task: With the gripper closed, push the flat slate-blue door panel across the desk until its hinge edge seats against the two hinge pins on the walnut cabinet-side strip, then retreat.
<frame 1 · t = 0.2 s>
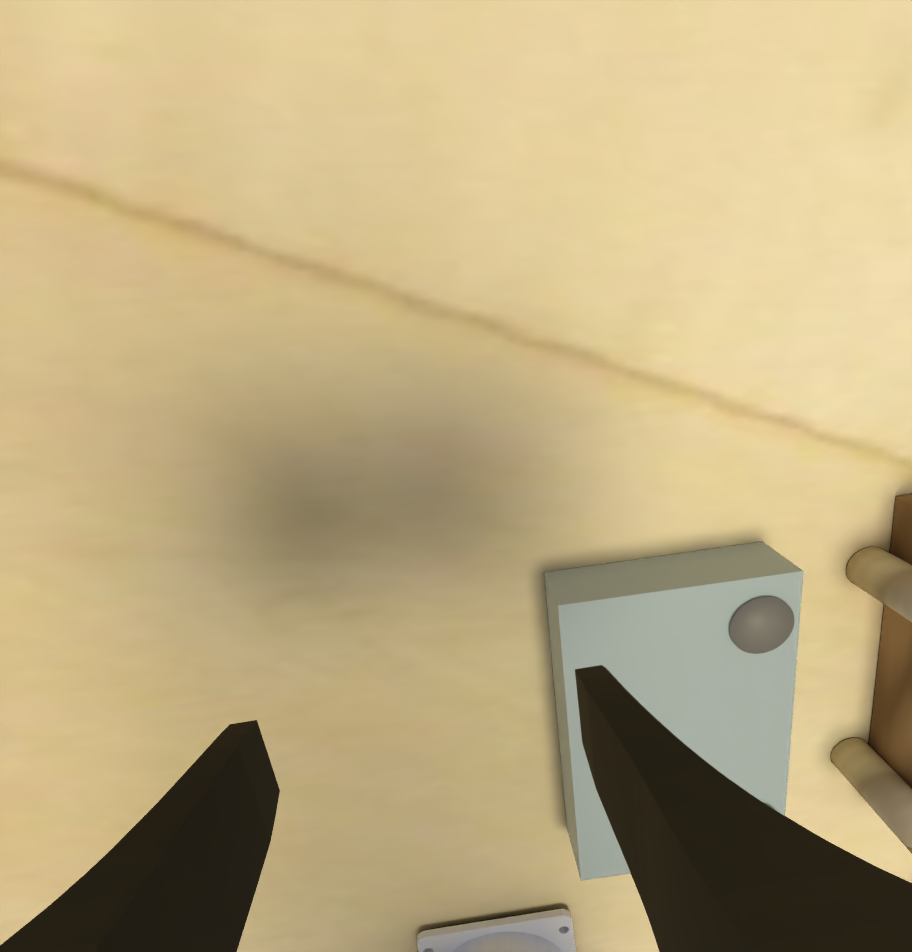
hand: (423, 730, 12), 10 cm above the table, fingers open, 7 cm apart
door: (652, 690, 25), on the table
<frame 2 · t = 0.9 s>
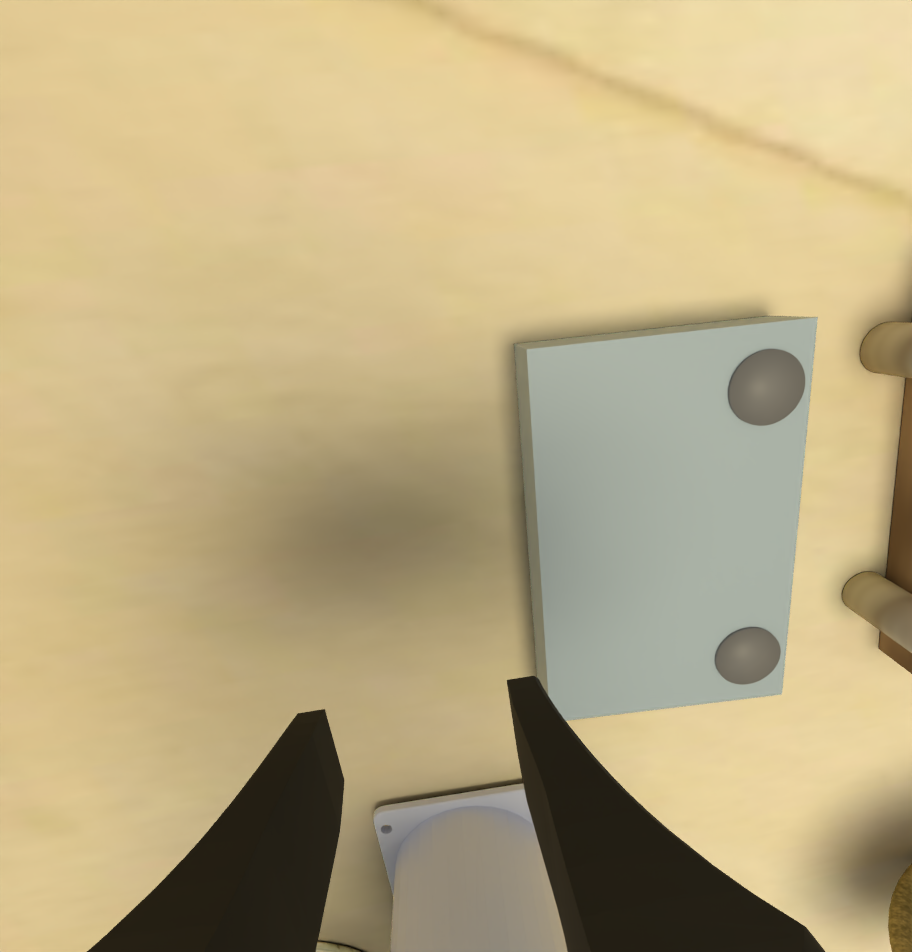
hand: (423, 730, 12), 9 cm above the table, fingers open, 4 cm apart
door: (637, 510, 22), on the table
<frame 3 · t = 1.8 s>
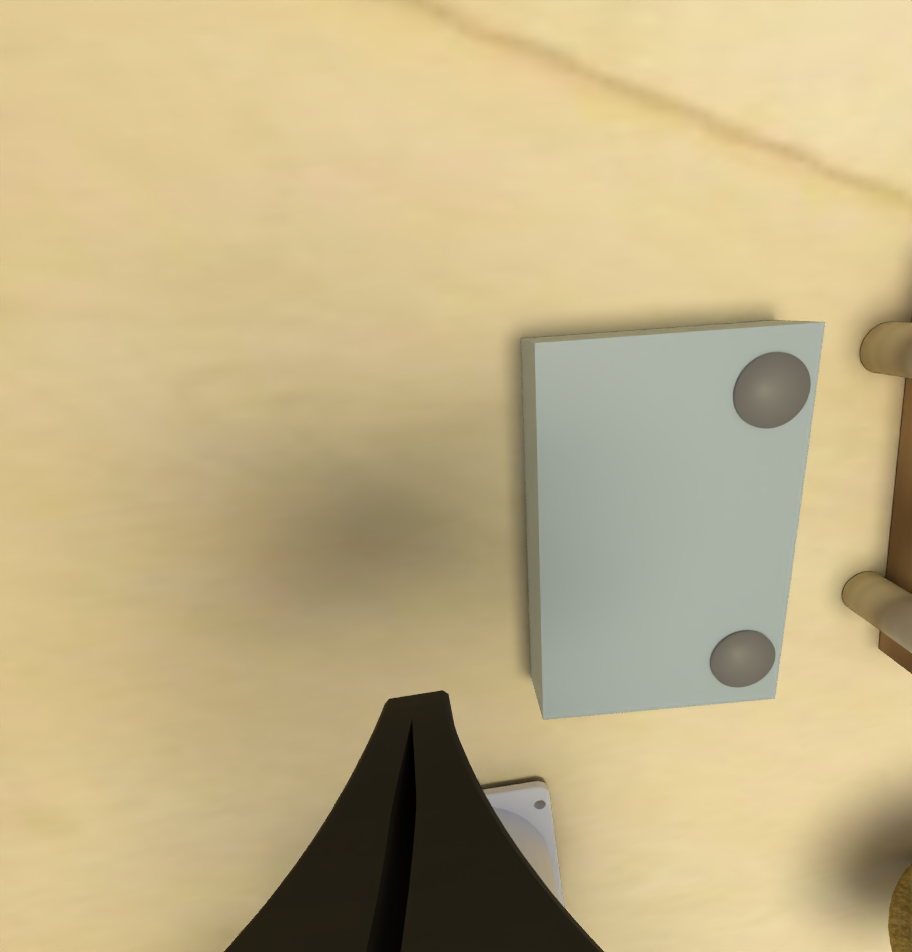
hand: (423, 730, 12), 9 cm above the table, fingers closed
door: (637, 510, 22), on the table
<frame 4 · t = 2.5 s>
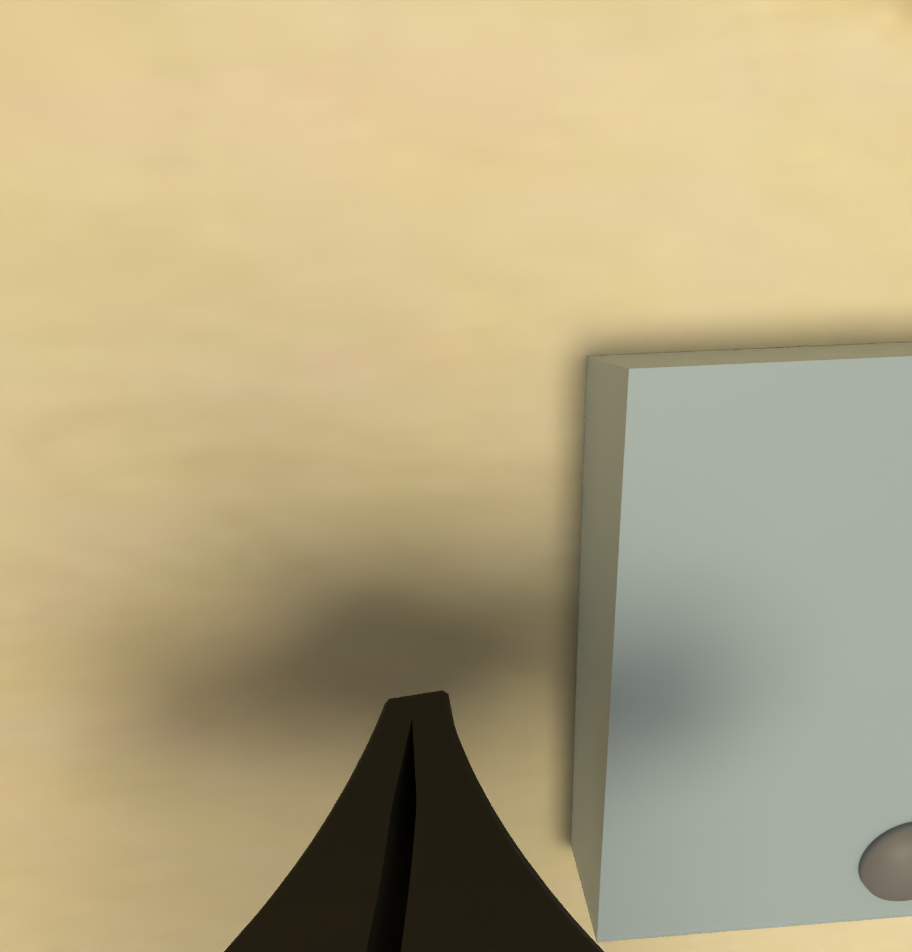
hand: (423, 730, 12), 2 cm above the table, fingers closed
door: (741, 617, 14), on the table
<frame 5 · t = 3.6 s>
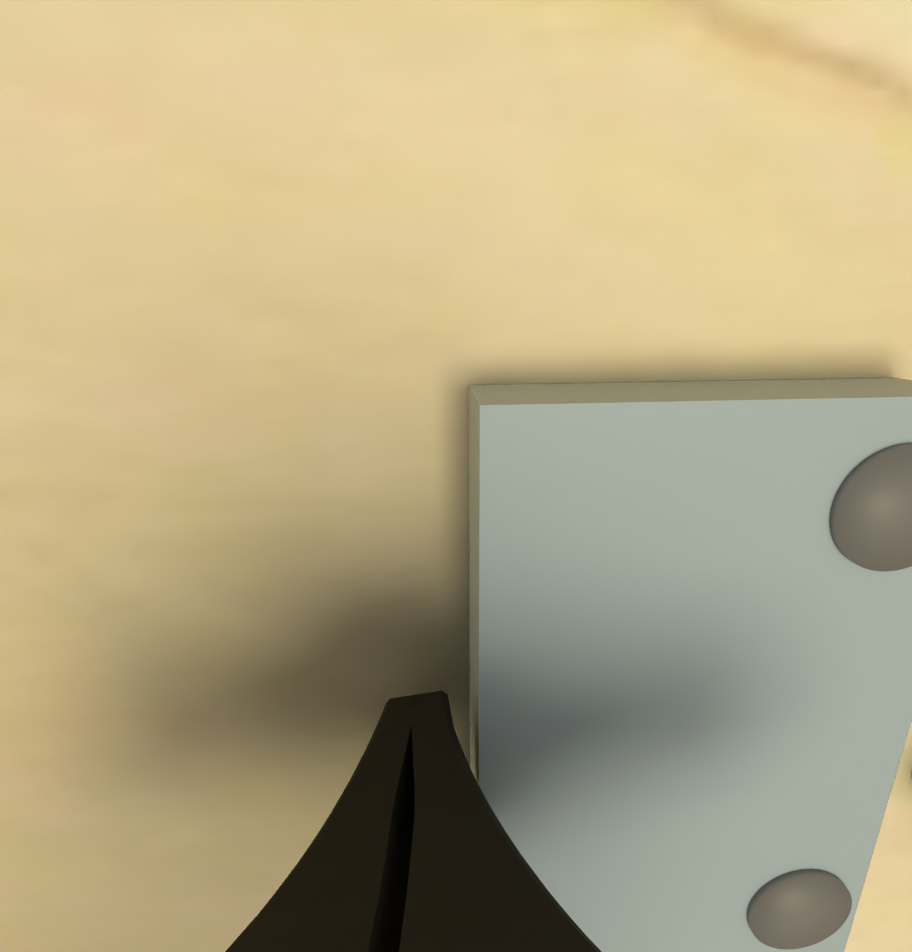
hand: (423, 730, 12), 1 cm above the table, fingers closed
door: (642, 651, 14), on the table, touching gripper
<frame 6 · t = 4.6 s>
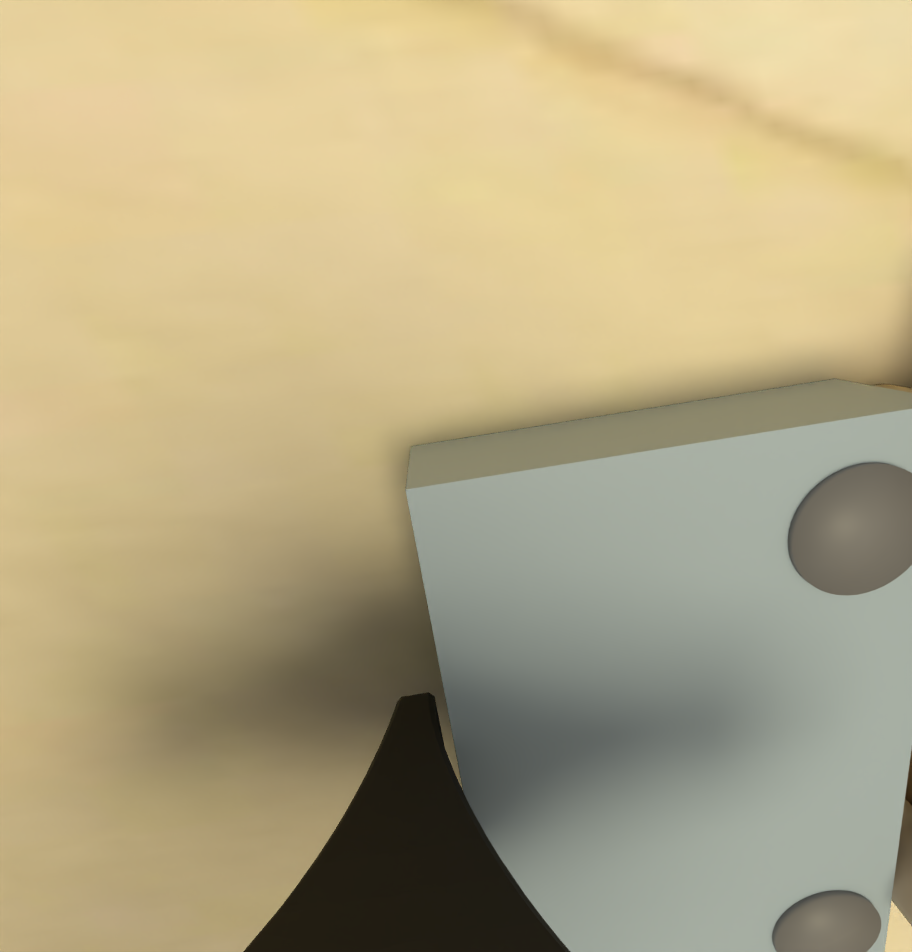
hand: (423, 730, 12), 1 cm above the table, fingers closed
door: (635, 681, 14), on the table, touching gripper, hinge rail
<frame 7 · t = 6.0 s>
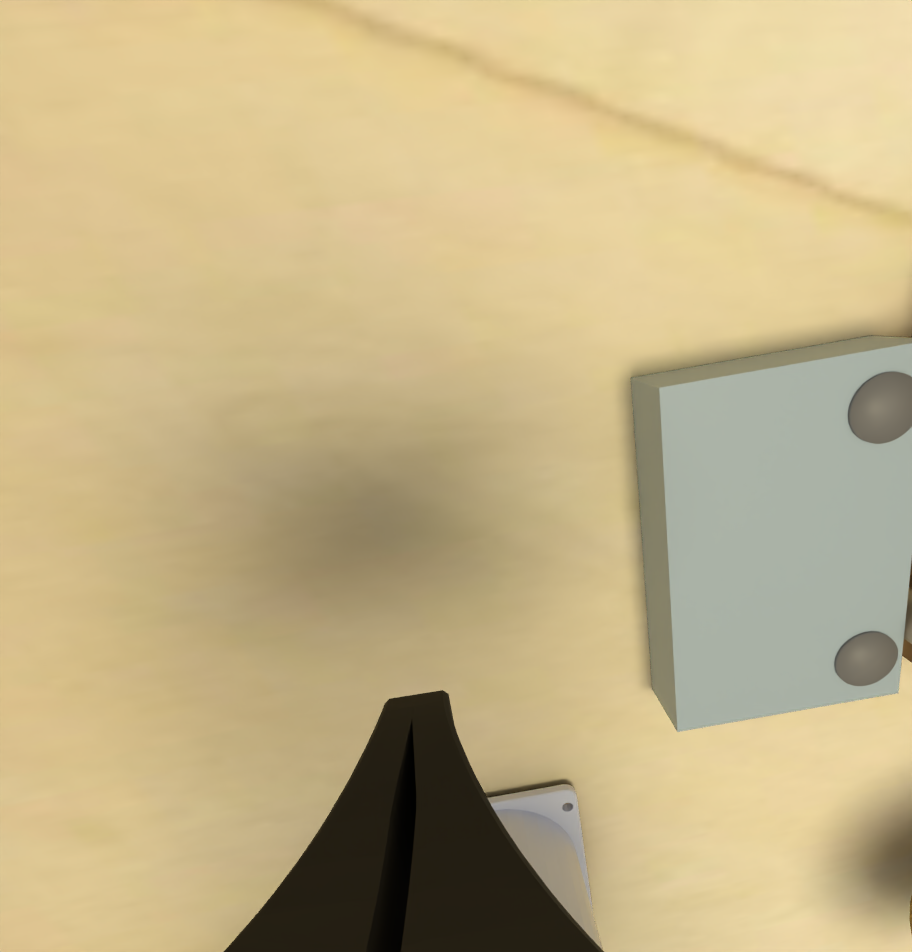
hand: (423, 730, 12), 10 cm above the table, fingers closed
door: (745, 525, 23), on the table
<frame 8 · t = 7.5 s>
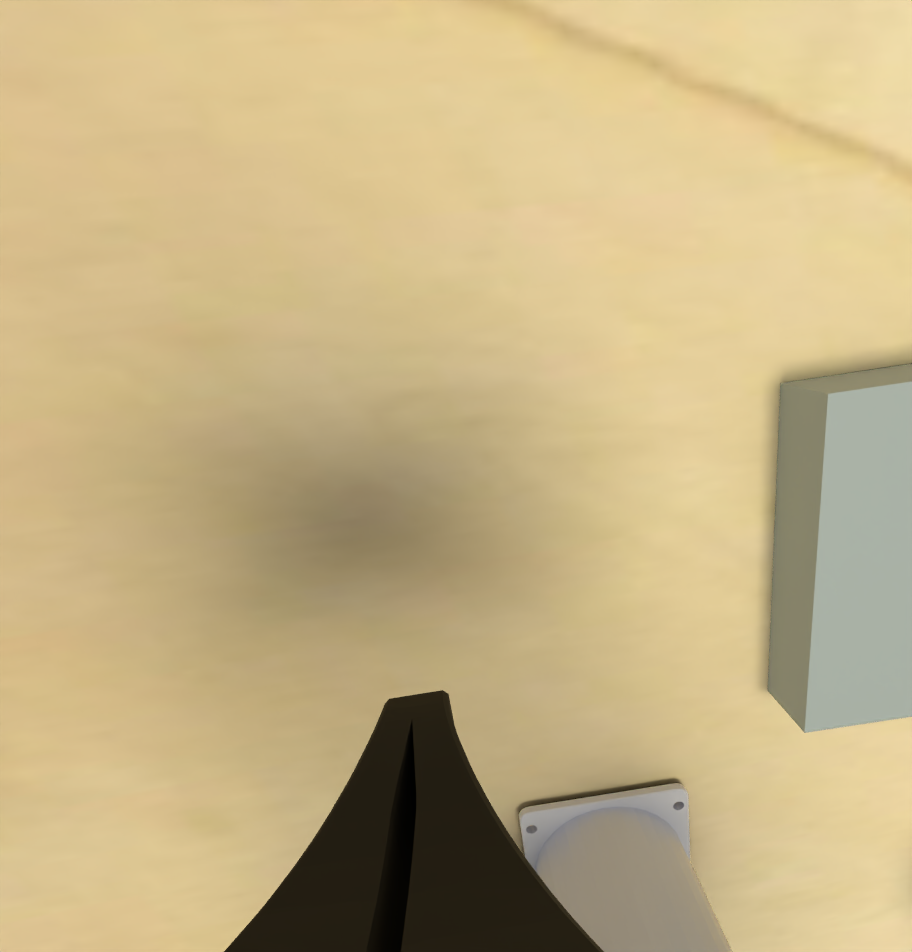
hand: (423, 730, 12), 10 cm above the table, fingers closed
door: (872, 530, 23), on the table
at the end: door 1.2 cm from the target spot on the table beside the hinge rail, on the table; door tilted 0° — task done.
